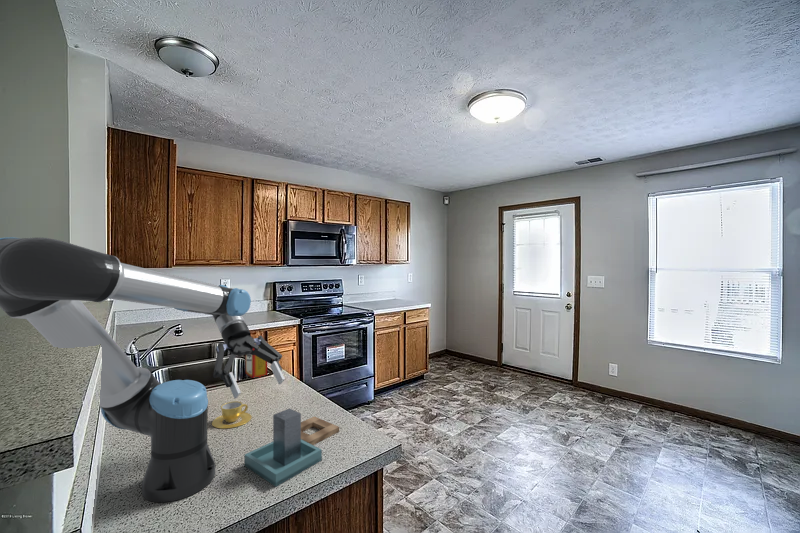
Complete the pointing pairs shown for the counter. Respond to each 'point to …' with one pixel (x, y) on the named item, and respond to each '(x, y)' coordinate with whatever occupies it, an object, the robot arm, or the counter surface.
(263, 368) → the baking soda box
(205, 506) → the counter surface
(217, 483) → the counter surface
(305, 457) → the tray
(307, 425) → the socket plate
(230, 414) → the cup
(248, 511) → the counter surface
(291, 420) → the grey rectangular block
